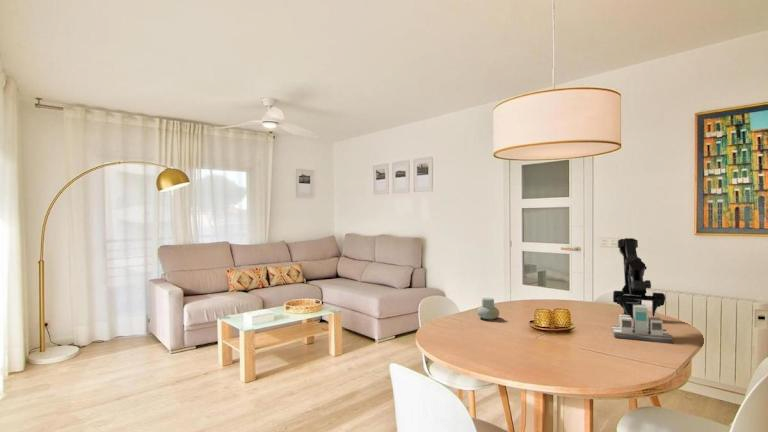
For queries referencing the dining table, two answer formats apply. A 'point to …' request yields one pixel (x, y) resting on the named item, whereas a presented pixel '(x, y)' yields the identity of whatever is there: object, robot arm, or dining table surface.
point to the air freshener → (488, 309)
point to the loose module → (640, 319)
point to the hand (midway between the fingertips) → (640, 314)
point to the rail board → (654, 334)
